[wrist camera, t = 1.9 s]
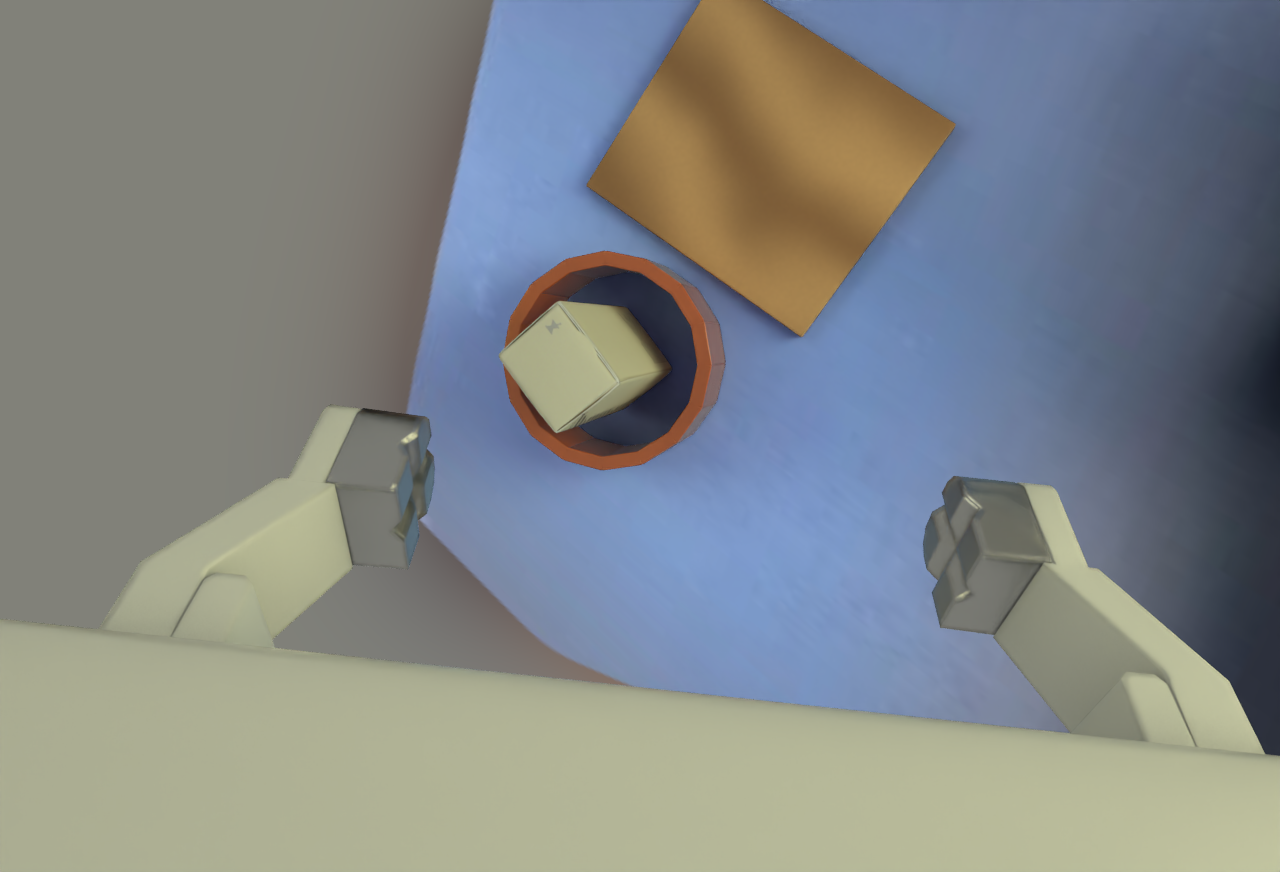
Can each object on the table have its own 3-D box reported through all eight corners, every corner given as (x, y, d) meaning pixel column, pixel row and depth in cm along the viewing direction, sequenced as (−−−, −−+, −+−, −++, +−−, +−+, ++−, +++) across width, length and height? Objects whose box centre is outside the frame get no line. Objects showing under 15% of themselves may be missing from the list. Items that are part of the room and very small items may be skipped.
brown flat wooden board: (720, -23, 49) (718, -29, 48) (954, 127, 47) (956, 124, 46) (589, 187, 52) (585, 185, 51) (802, 337, 50) (801, 337, 49)
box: (575, 348, 54) (489, 350, 41) (628, 304, 52) (555, 293, 40) (625, 414, 53) (553, 437, 41) (679, 372, 52) (622, 382, 40)
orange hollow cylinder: (603, 221, 52) (576, 209, 47) (764, 335, 50) (753, 335, 46) (501, 382, 55) (466, 386, 50) (650, 495, 53) (629, 511, 49)
